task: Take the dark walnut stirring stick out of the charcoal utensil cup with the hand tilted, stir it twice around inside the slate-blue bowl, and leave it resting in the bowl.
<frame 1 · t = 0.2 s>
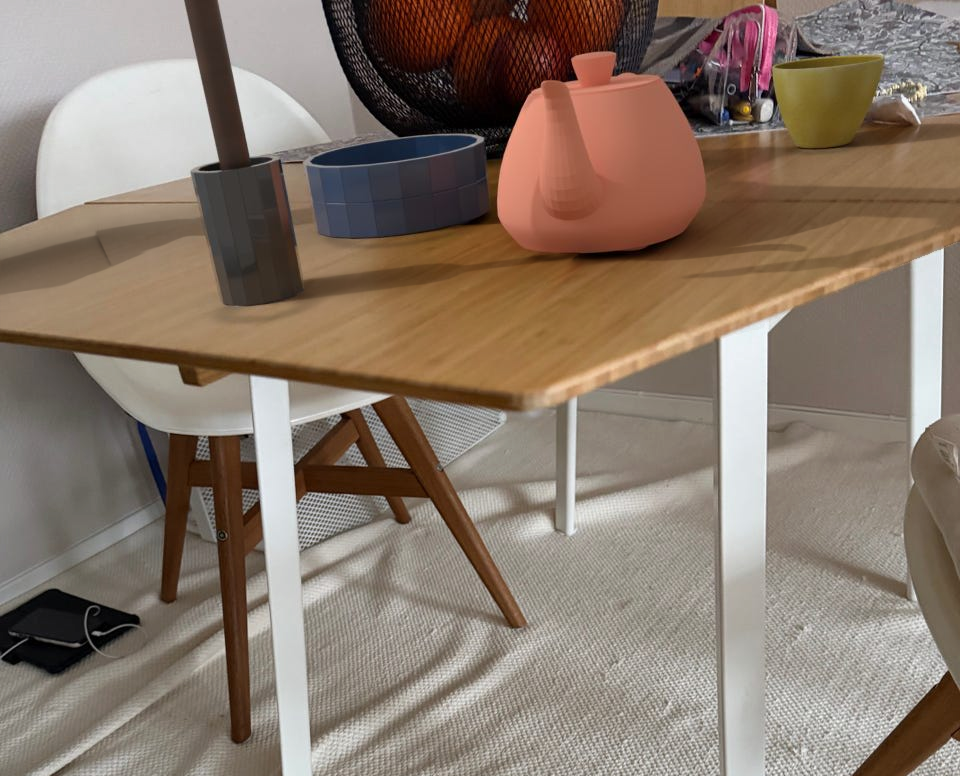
teapot: (600, 244, 81), on the table
bowl: (404, 224, 95), on the table
stick: (262, 293, 76), point 1 cm above the table, touching utensil cup
flower pot: (823, 146, 106), on the table
utensil cup: (264, 302, 76), on the table
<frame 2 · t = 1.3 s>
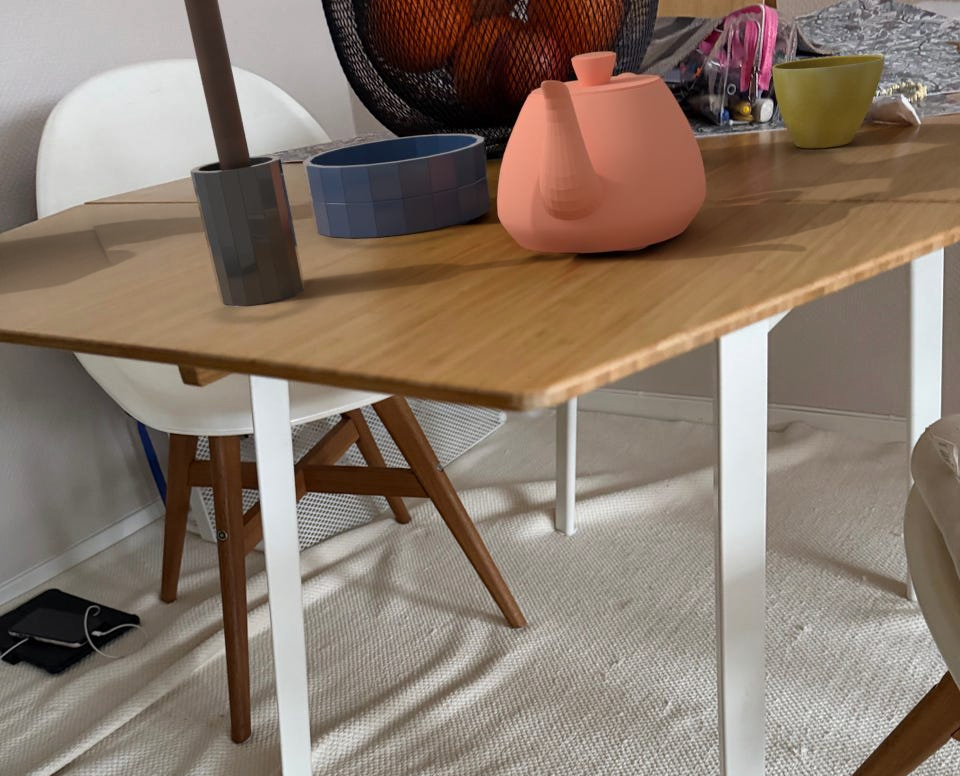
nothing on the table moved.
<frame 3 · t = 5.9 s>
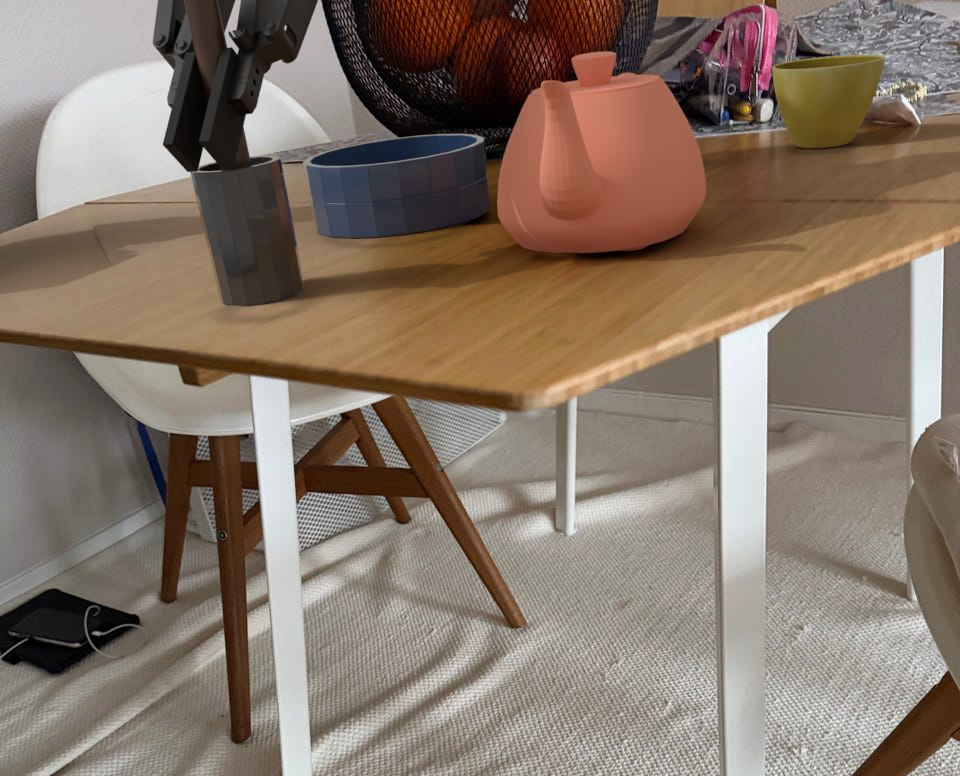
hand: (198, 156, 68), 10 cm above the table, tool tilted 45°, fingers closed on stick, 2 cm apart
stick: (262, 293, 76), point 1 cm above the table, touching gripper, utensil cup
everything else where it was.
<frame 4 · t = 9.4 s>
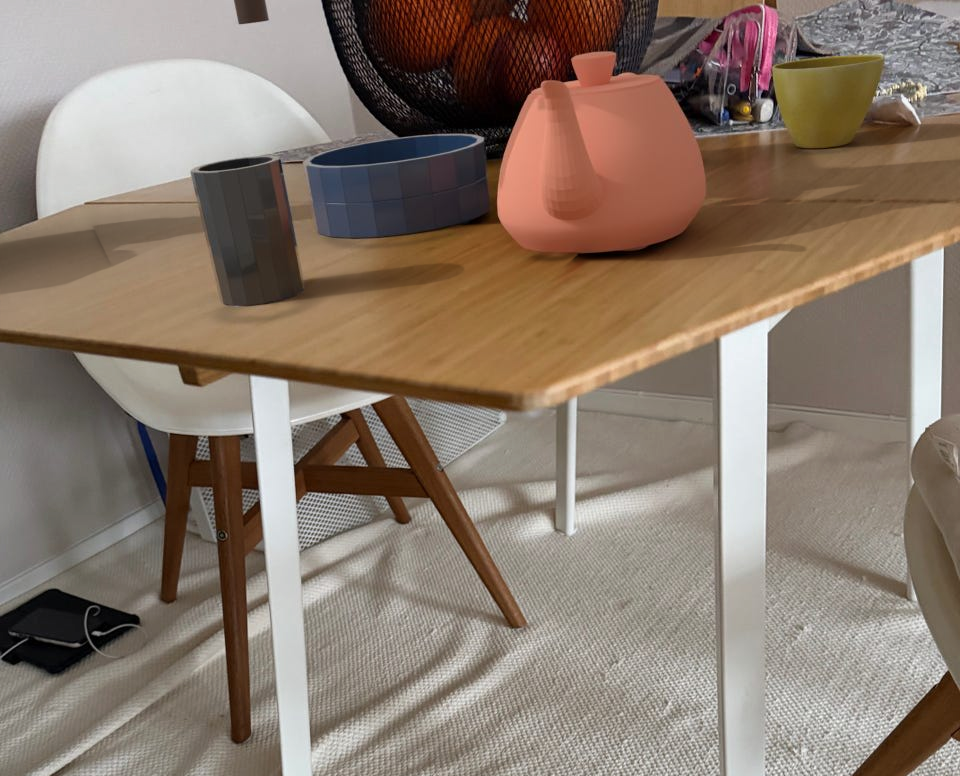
stick: (253, 22, 72), point 17 cm above the table, touching gripper
everything else where it was.
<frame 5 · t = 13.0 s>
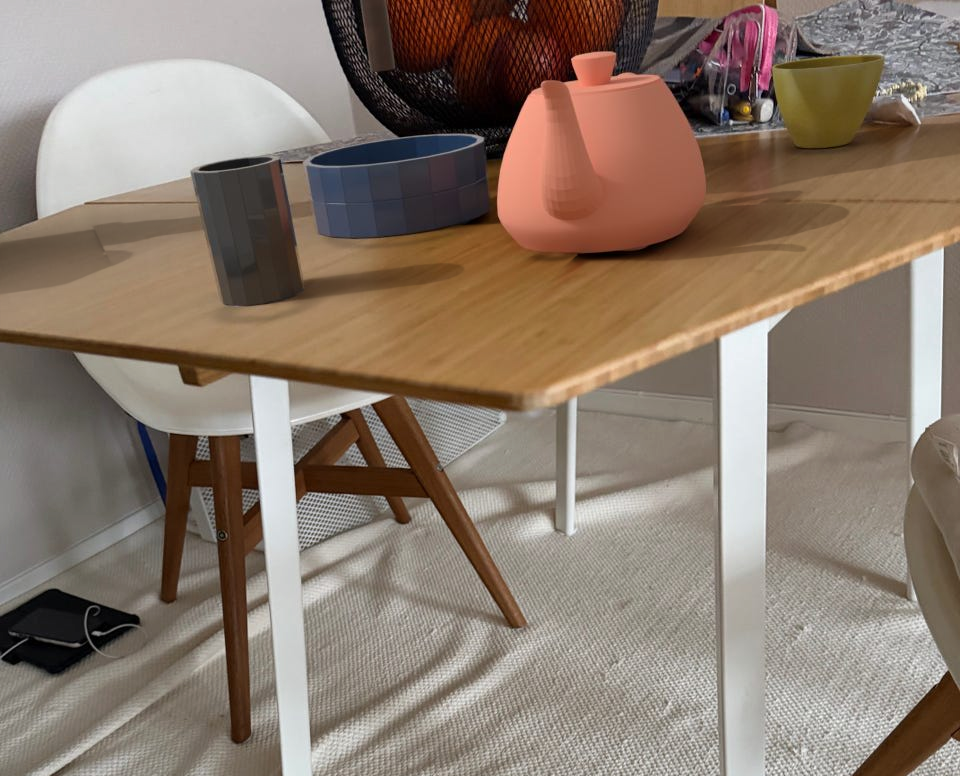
stick: (383, 70, 88), point 12 cm above the table, touching gripper
everything else where it was.
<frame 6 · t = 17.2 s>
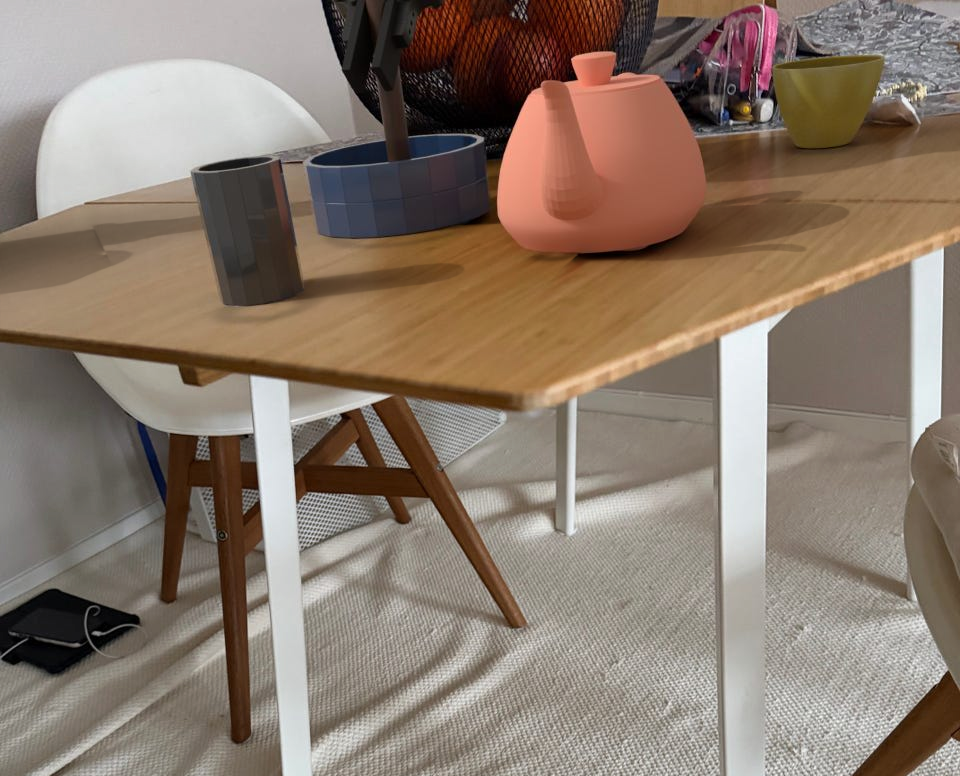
hand: (367, 80, 88), 11 cm above the table, tool tilted 45°, fingers closed on stick, 2 cm apart
stick: (404, 195, 96), point 2 cm above the table, touching gripper
everything else where it was.
when the fingers open (10 cm above the table, at t = 20.3 s): stick stays where it is, resting on bowl.
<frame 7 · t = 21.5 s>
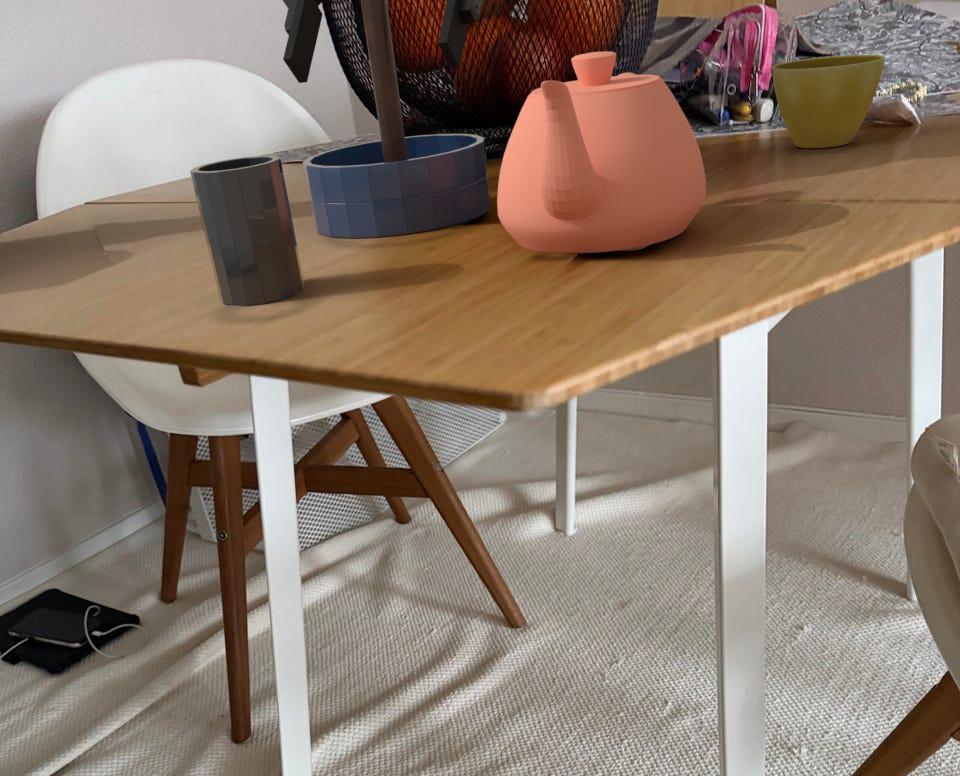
hand: (369, 64, 86), 13 cm above the table, tool tilted 45°, fingers open, 13 cm apart
stick: (403, 217, 94), point 1 cm above the table, touching bowl
everything else where it was.
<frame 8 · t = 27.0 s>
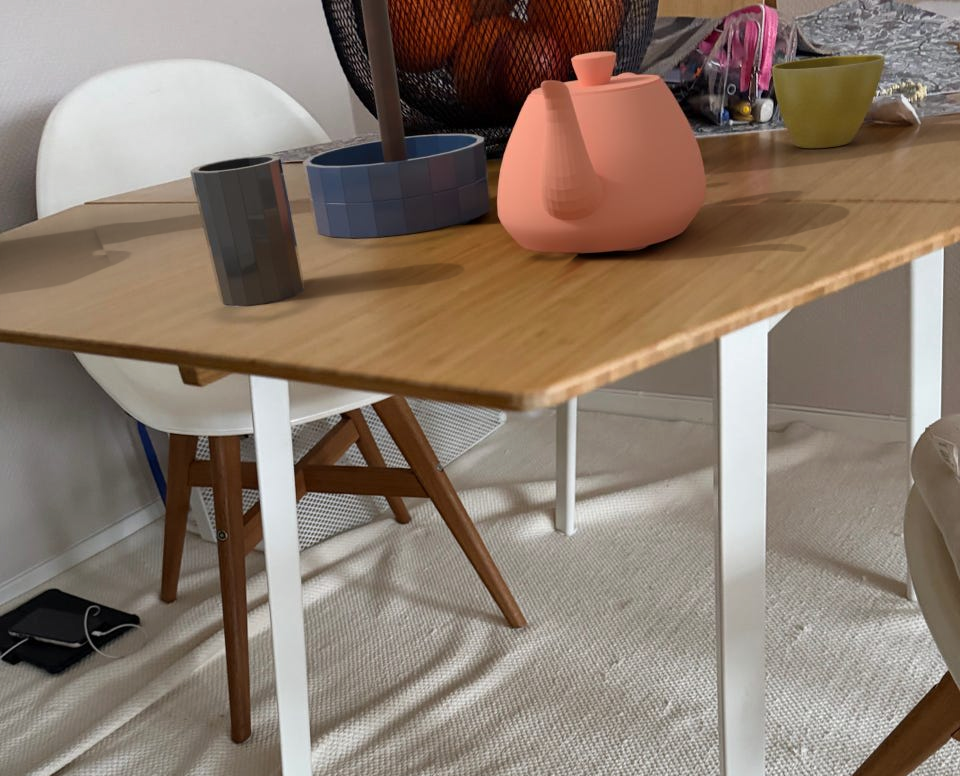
nothing on the table moved.
at the end: stick inside the target area in the bowl (0.1 cm from its centre), point 0.6 cm above the bowl's base; stick moved 24.1 cm from its start; the gripper is holding nothing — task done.
